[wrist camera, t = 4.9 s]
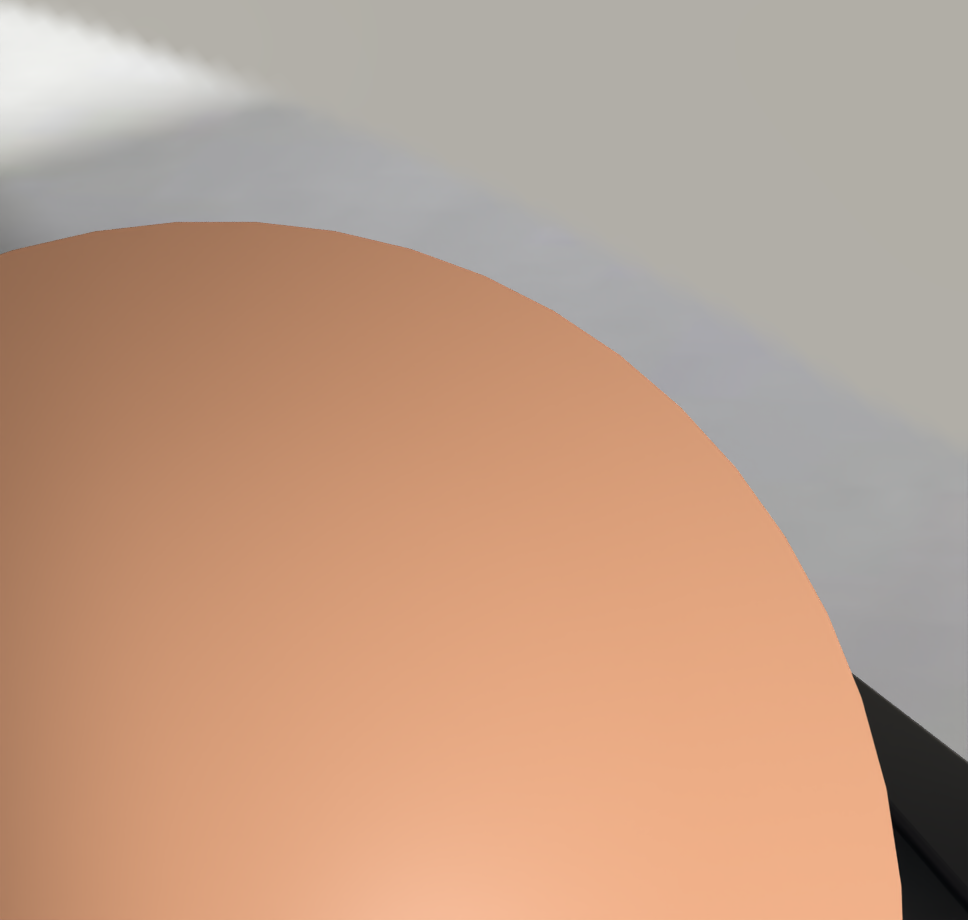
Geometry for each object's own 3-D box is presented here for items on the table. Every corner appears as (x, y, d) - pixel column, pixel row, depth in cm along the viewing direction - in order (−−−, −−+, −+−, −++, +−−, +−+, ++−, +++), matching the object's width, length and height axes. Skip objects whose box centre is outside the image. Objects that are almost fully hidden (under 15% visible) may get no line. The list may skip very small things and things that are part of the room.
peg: (367, 965, 14) (7, 2533, 2) (188, 750, 15) (-941, 851, 3) (565, 759, 15) (1182, 891, 3) (389, 568, 16) (278, 18, 4)
